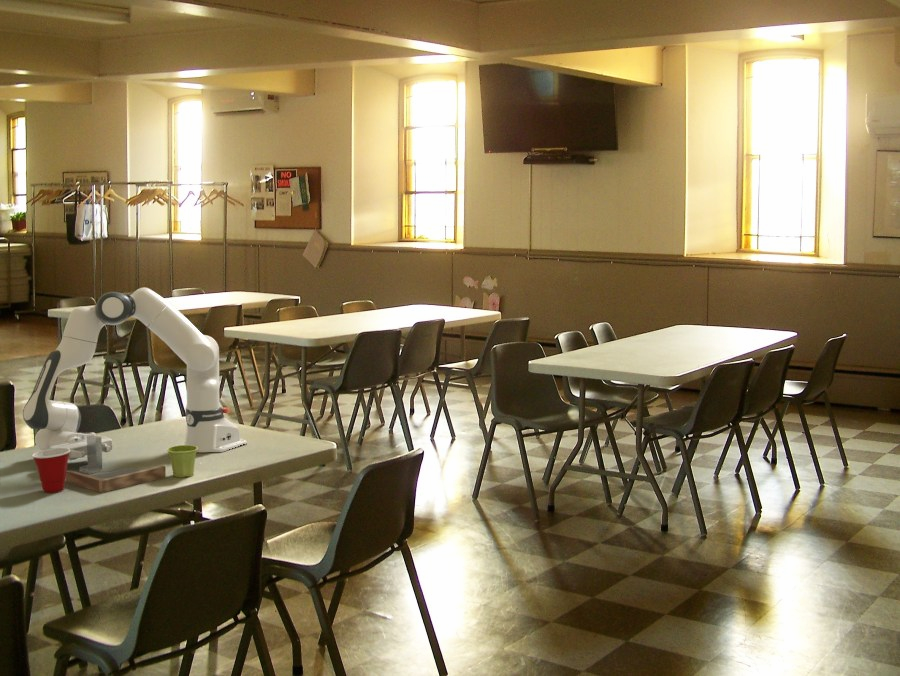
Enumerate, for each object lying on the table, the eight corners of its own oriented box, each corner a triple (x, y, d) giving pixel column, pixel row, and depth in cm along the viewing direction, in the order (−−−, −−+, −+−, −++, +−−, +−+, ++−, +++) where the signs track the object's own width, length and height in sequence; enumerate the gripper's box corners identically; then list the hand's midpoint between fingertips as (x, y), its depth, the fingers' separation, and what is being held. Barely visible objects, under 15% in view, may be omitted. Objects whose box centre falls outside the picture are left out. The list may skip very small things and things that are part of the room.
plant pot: (190, 480, 333) (190, 452, 332) (162, 478, 335) (161, 451, 334) (203, 472, 342) (202, 445, 341) (176, 471, 344) (175, 444, 343)
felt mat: (128, 468, 347) (128, 467, 346) (159, 476, 337) (159, 475, 337) (73, 481, 331) (73, 479, 331) (104, 489, 321) (104, 488, 321)
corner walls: (129, 467, 347) (128, 457, 347) (165, 477, 336) (165, 466, 335) (65, 482, 329) (65, 471, 329) (102, 492, 318) (101, 481, 317)
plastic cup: (39, 486, 325) (37, 447, 324) (76, 485, 326) (74, 446, 325) (28, 495, 314) (26, 455, 313) (66, 495, 315) (64, 454, 314)
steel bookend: (93, 468, 347) (92, 434, 345) (102, 470, 344) (101, 437, 342) (79, 471, 343) (78, 437, 341) (88, 474, 340) (87, 439, 338)
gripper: (41, 442, 343) (66, 448, 335) (97, 431, 359) (122, 436, 351) (42, 461, 344) (66, 468, 335) (98, 449, 360) (122, 455, 351)
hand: (95, 452), depth 343 cm, fingers open, 8 cm apart
